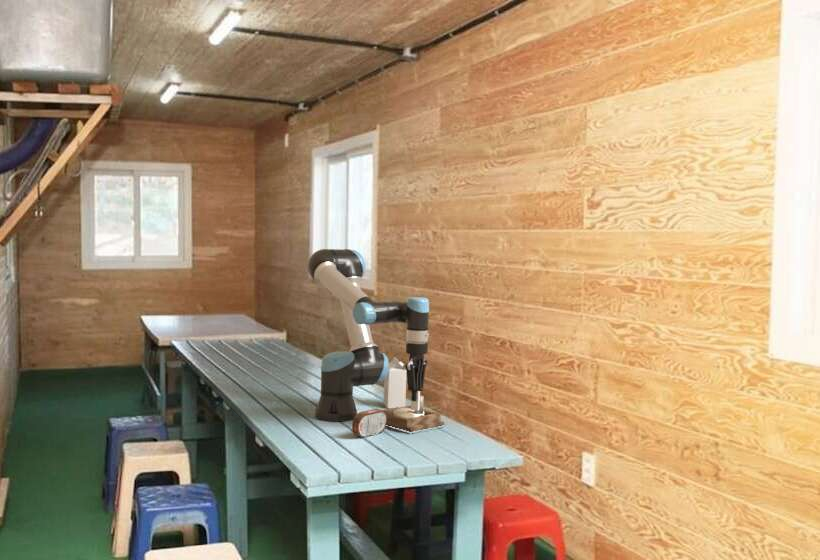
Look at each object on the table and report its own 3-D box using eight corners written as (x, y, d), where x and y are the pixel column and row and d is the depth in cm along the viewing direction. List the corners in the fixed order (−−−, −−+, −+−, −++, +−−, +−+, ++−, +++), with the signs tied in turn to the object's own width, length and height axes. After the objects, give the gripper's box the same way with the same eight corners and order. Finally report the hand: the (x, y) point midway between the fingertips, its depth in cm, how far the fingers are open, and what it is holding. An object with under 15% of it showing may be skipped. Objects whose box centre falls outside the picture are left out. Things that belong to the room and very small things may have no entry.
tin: (381, 430, 261) (382, 406, 261) (388, 432, 259) (389, 407, 259) (350, 438, 250) (351, 413, 249) (357, 440, 248) (358, 414, 247)
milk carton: (387, 408, 294) (389, 360, 293) (383, 404, 301) (384, 357, 300) (405, 408, 296) (407, 359, 295) (400, 404, 303) (402, 357, 302)
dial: (387, 419, 268) (388, 395, 267) (402, 413, 277) (403, 390, 277) (415, 423, 262) (415, 399, 262) (429, 417, 272) (430, 394, 272)
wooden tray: (410, 434, 257) (411, 420, 257) (373, 422, 272) (373, 409, 272) (444, 427, 268) (444, 414, 268) (406, 416, 283) (406, 403, 282)
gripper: (418, 344, 256) (416, 414, 257) (434, 341, 268) (432, 407, 269) (398, 343, 259) (397, 411, 260) (415, 339, 271) (413, 405, 272)
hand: (415, 409), depth 264 cm, fingers closed
